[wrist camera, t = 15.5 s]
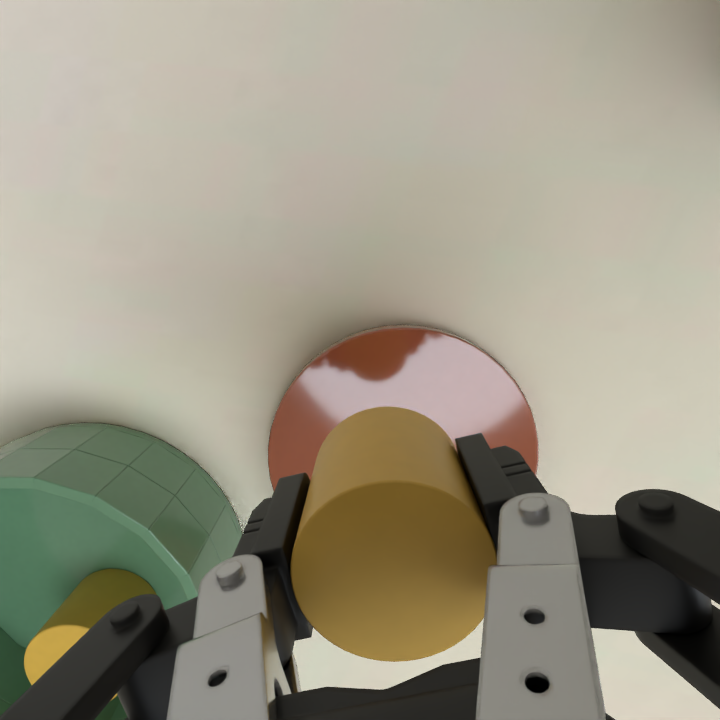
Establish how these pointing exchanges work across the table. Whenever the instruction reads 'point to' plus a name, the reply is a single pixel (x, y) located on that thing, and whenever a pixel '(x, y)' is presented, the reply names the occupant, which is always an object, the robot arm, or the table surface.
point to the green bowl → (99, 528)
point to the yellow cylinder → (391, 539)
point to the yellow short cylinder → (80, 616)
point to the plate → (400, 393)
